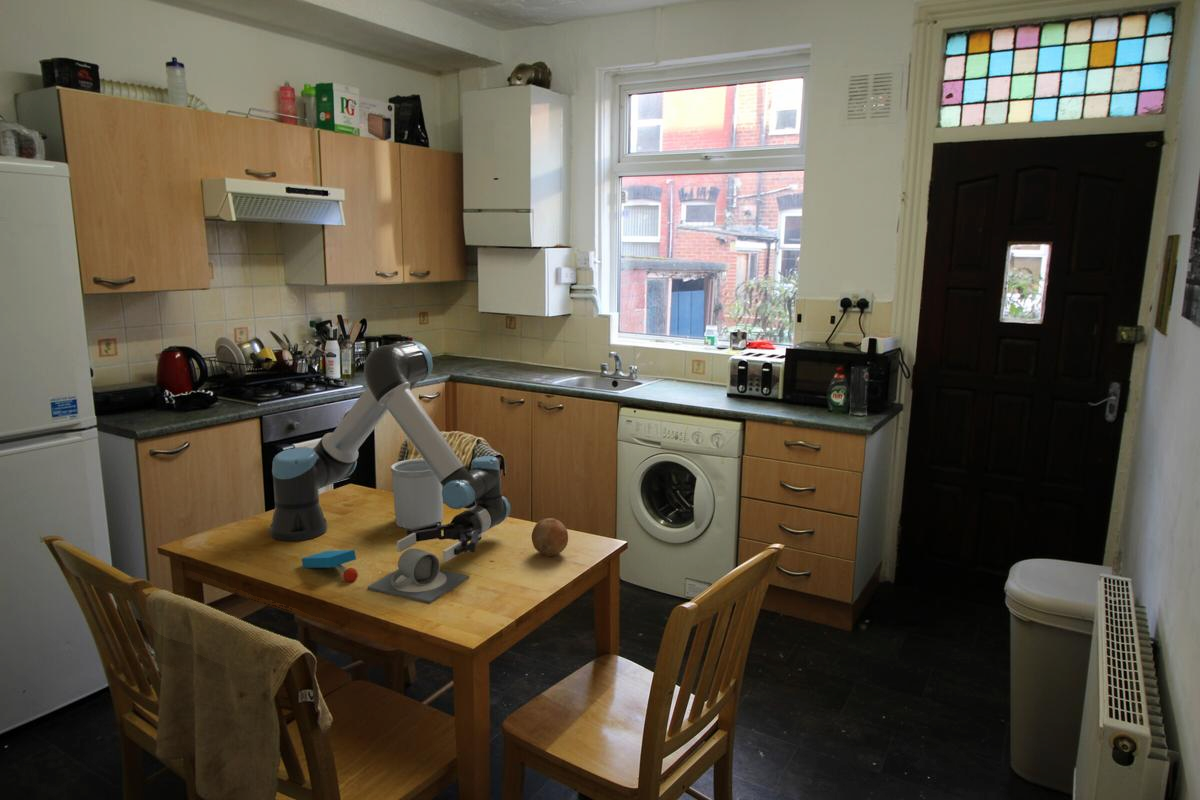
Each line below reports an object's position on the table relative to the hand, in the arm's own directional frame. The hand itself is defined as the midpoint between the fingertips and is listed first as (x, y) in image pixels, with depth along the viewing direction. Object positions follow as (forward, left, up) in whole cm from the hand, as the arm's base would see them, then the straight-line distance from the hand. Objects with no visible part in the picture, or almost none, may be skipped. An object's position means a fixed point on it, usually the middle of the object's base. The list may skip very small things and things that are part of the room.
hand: (420, 551), depth 189 cm
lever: (-24, -4, -8) cm, 26 cm away
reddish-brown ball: (+20, +29, -8) cm, 36 cm away
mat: (0, -1, -8) cm, 8 cm away
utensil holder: (-27, +35, -8) cm, 45 cm away
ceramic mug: (-1, -2, -7) cm, 8 cm away
